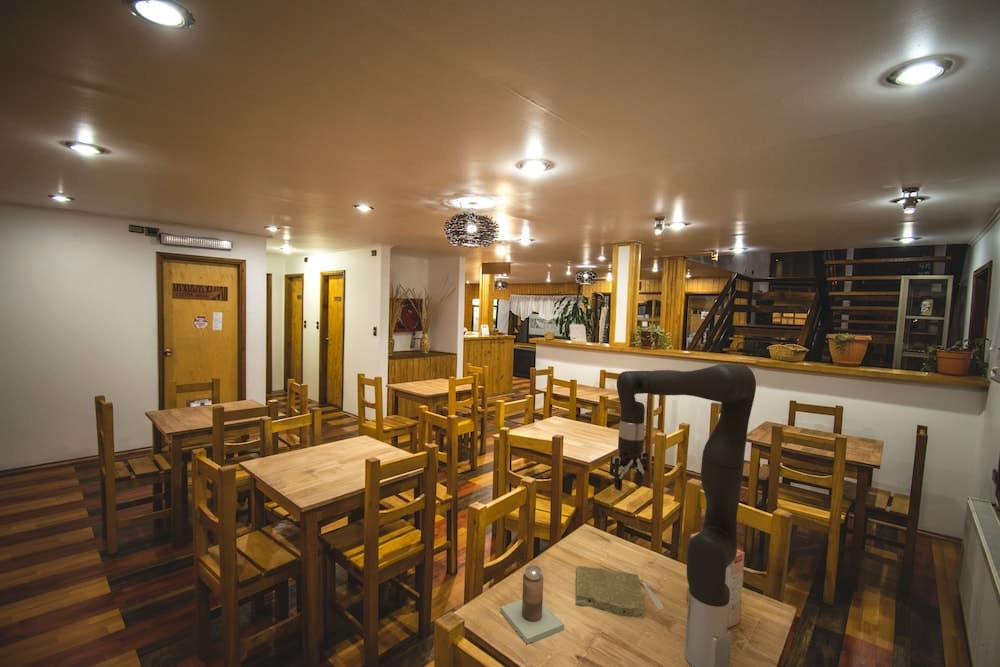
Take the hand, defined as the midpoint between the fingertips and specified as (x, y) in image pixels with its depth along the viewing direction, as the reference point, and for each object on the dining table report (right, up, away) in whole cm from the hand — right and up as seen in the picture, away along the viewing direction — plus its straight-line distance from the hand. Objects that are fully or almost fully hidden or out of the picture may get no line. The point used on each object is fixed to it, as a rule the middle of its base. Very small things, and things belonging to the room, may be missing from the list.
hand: (628, 487), depth 138 cm
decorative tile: (-6, -34, 0) cm, 34 cm away
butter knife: (+6, -34, +7) cm, 35 cm away
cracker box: (+23, -35, -6) cm, 42 cm away
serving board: (-31, -33, -13) cm, 47 cm away
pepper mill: (-31, -31, -13) cm, 46 cm away
